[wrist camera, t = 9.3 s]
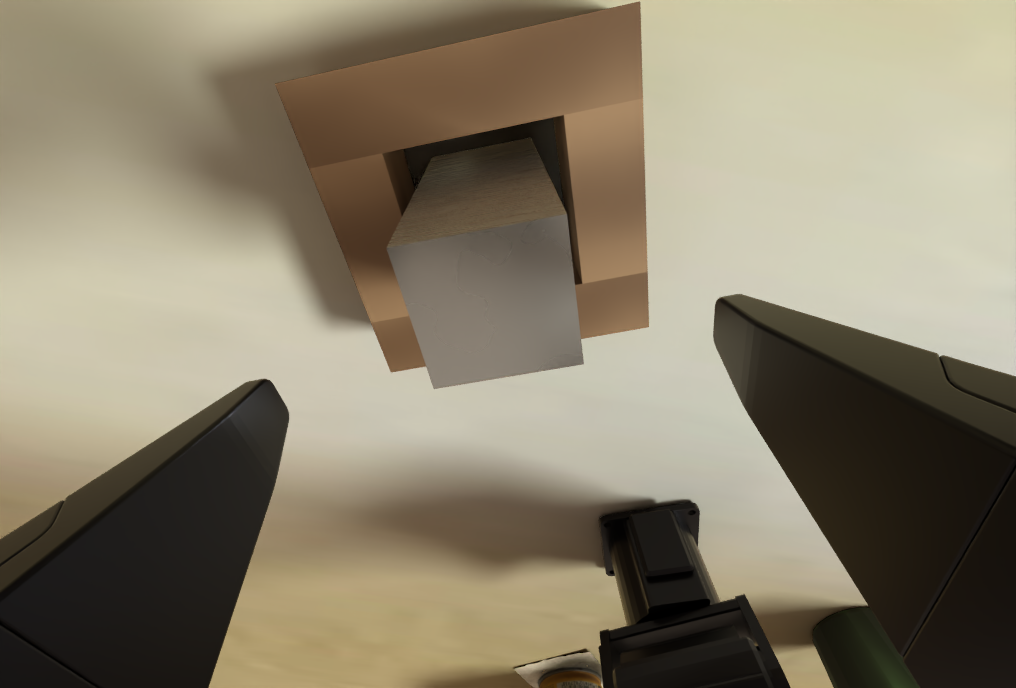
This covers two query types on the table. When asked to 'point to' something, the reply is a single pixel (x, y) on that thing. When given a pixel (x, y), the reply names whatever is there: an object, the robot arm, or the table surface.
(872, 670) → the potion bottle
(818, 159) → the table surface
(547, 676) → the condiment
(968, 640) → the robot arm
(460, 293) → the grey long rectangular block
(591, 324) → the block
